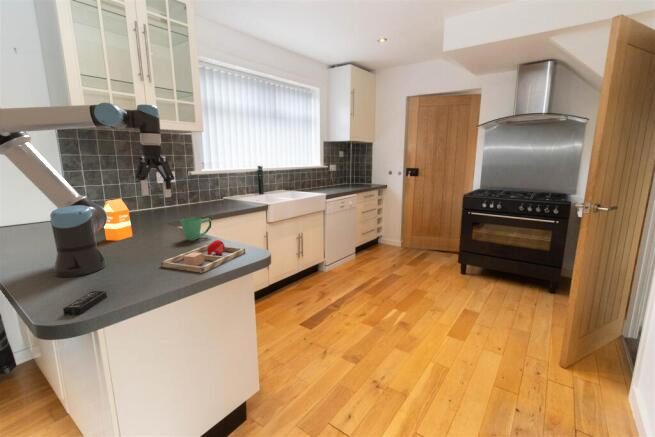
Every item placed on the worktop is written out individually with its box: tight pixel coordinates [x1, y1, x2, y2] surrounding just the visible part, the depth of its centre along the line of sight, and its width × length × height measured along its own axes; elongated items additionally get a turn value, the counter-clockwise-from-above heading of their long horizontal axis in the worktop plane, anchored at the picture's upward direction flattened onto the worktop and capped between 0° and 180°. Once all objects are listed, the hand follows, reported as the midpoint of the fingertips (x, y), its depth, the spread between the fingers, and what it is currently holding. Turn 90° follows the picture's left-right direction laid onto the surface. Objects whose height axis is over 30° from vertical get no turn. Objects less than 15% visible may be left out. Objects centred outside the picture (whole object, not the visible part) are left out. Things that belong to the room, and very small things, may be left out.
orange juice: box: [102, 198, 133, 241], centre depth 163 cm, size 8×9×20 cm
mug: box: [180, 217, 212, 241], centre depth 160 cm, size 15×10×10 cm
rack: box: [160, 244, 246, 274], centre depth 127 cm, size 25×20×2 cm
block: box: [183, 252, 205, 266], centre depth 122 cm, size 5×5×4 cm
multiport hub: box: [62, 290, 108, 316], centre depth 89 cm, size 4×11×2 cm, turn 1°
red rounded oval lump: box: [206, 239, 225, 256], centre depth 132 cm, size 8×6×6 cm
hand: (156, 196), depth 134 cm, fingers open, 13 cm apart
